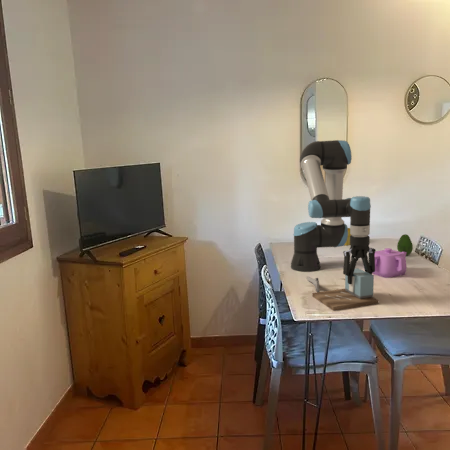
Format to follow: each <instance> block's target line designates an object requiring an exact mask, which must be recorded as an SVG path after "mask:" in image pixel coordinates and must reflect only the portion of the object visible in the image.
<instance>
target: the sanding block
mask: <svg viewBox="0 0 450 450" xmlns="http://www.w3.org/2000/svg"><path fill="white" fill-rule="evenodd" d="M344 275H345V274H344ZM353 276H354V277H355V280H354V292H351V291H349V284H348V276H347V275H345V276H344V277H345V278H344V279H345V280H344V282H345V284H344V289H345V291H347V292H349V293H351V294H352V295H354V296H356V297H358V298H359V299H363V298H369V297H374V285H375V283H374V282H375V281H374V279H375V274H370V273H367V272H365V270H364V269H361V268H359V267H358V268H356V267H355V270H354V273H353Z"/></svg>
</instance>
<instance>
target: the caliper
mask: <svg viewBox="0 0 450 450" xmlns="http://www.w3.org/2000/svg"><path fill="white" fill-rule="evenodd" d="M305 279H306V280H307V281H308V282H311V283H312V285H313V286H314V287H315V291H316V293H317V292H320V280H319V277H315V278H312V277H310V276H306V277H305Z"/></svg>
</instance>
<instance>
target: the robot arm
mask: <svg viewBox="0 0 450 450" xmlns="http://www.w3.org/2000/svg"><path fill="white" fill-rule="evenodd" d="M351 149H352V148H351V146H350V144H349V142H348V141H347V140H343V139H342V140H339V139H337V140H335V139H334V140H317V141H312V142H310V143H308V144H307V145H306V146H305V147H304V148H303V150H301V151H302V152H301V154H300V157H299V165H300V169H302V170H303V172H304V176H305V179H306V180H305V181H306V185H307V188H308V193H309V196H310V199H311V200H309V202H308V204H307V205H308V206H307V210H308V216H309V217H310V218H311V219H321V221H320V224H318V223H317V222H316V221H307V222H301V223H298V224H296V225H294V228H293V234H292V235H293V256H292V258H291V261H290V268H291V269H292V270H294V271H296V272H297V271H299V272H315V271H318V270H320V269H321V262H320V258H319V255H318V249H319V248H338V247H344V246H346V245H345V243H346V241H347V237H348V228H350V234H351V236H350V245H349V246H350V247H349V249H348V250H343V252H342V253H343V256H344V257H343V270H342V271H343V272H342V274H343V275H347V276H348V284H349V291H351V292H354V280H355V277H354V276H353V273H354V270H355V269H356V266H357V263H358V261H359V259H361V262H362V265H363V268H364V269H363V270H364V271H365V272H367V273H370V274H372V272H375V251H377V250H376V248H373V247H370V241H371V239H370V234H371V232H370V229H371V228H370V227H371V208H372V206H371V205H372V204H371V198H370V197H369V196H362V195H361V196H360V195H359V196H357V195H356V196H353V197H346V198H343V189H344V173H345V171H346V170H347V169H348V166H349V165H351V163H352V150H351ZM321 166H322V169H321ZM322 170H323V171H324V172H325V174H324V175H325V178H324V176H323V172H322ZM342 218H350V220H349V221H350V222H349V223H350V226H349V227H348V225H347V224H346V223H345V220H344V219H342ZM372 275H373V274H372Z"/></svg>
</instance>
